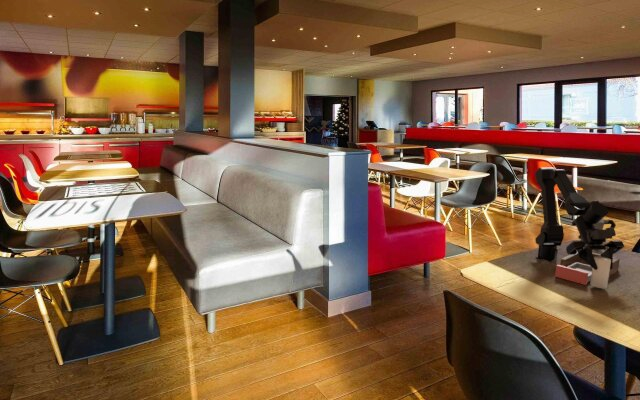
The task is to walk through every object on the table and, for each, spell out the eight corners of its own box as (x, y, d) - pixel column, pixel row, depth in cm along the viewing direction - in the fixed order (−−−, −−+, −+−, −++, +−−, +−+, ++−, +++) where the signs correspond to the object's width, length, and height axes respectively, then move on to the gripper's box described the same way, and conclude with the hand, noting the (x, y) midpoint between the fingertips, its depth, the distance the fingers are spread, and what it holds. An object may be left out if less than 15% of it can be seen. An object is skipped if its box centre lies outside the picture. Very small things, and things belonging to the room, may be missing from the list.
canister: (587, 284, 163) (591, 258, 161) (593, 281, 166) (597, 255, 164) (603, 289, 159) (607, 262, 157) (609, 285, 162) (613, 259, 160)
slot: (559, 270, 180) (561, 258, 179) (578, 261, 192) (580, 249, 191) (600, 281, 169) (601, 268, 168) (618, 270, 181) (619, 258, 180)
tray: (555, 276, 174) (556, 265, 173) (573, 267, 184) (575, 256, 183) (585, 284, 165) (587, 273, 165) (603, 274, 176) (604, 263, 175)
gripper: (574, 219, 161) (591, 259, 152) (624, 218, 162) (643, 258, 154) (559, 234, 170) (573, 273, 162) (606, 233, 172) (623, 272, 163)
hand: (603, 269), depth 160 cm, fingers closed on canister, 5 cm apart
